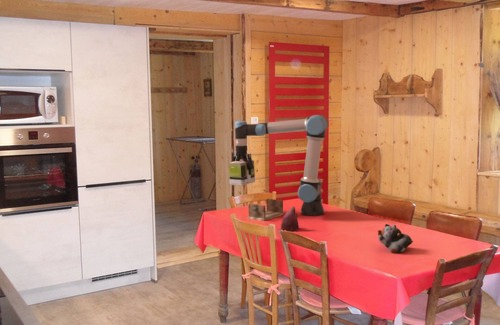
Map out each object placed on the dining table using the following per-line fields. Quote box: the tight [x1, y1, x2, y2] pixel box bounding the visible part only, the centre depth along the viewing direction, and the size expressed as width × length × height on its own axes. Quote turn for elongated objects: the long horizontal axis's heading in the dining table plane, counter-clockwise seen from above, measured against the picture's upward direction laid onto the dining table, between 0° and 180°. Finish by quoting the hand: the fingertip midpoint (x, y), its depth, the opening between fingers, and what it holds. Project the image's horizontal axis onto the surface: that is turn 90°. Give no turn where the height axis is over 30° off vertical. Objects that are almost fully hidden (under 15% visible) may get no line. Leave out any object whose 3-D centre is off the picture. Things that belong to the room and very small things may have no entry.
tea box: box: [228, 160, 256, 186], centre depth 353 cm, size 15×10×15 cm, turn 144°
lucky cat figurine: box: [377, 223, 414, 254], centre depth 268 cm, size 15×12×14 cm
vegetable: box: [280, 206, 300, 232], centre depth 315 cm, size 10×10×15 cm
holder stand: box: [248, 198, 284, 222], centre depth 349 cm, size 12×23×10 cm, turn 143°
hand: (242, 179), depth 354 cm, fingers closed on tea box, 10 cm apart
